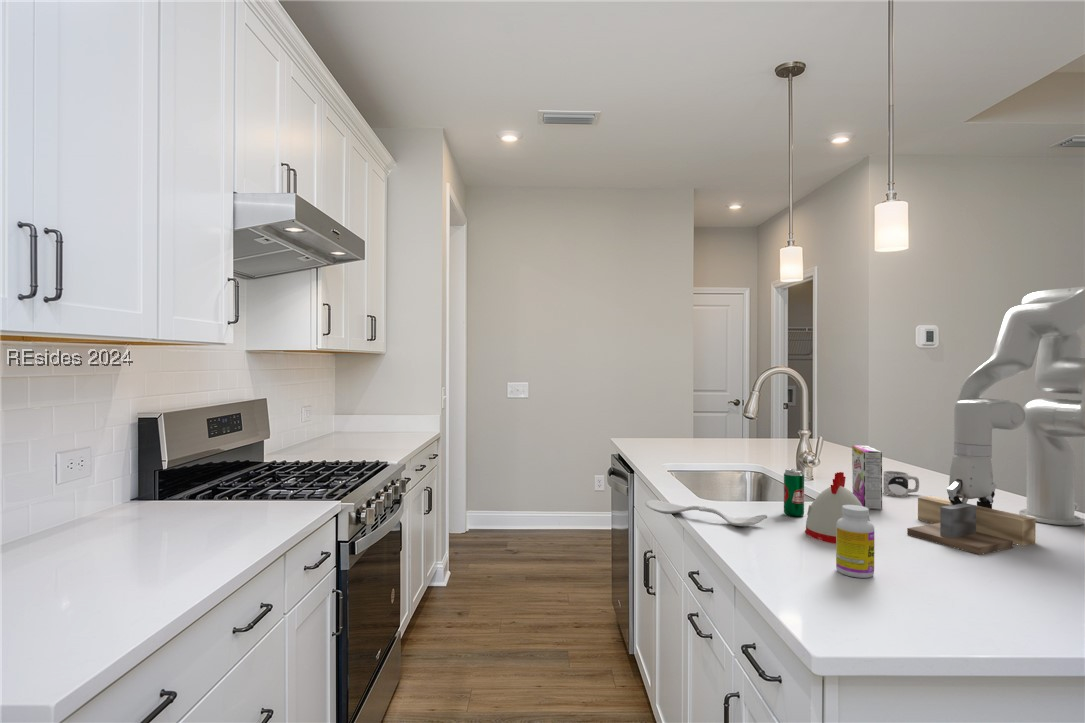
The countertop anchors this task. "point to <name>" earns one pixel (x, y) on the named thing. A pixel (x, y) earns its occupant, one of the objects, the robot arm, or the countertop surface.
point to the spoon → (672, 508)
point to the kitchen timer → (829, 510)
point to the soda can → (794, 492)
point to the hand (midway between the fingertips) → (971, 520)
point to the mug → (898, 483)
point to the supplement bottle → (855, 542)
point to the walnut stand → (960, 531)
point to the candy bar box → (867, 476)
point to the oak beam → (985, 521)
